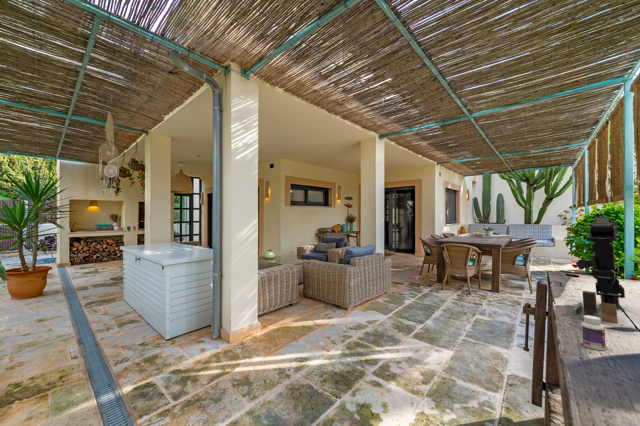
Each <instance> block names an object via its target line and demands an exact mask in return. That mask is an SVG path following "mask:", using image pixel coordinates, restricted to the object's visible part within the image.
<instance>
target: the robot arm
mask: <svg viewBox="0 0 640 426" xmlns="http://www.w3.org/2000/svg"><path fill="white" fill-rule="evenodd" d="M617 225H618V224H617V222H616V221H614V220H612V219H611V216H607V215H606V216H595V217H594V220H593V221H592V222H591V223H590V225H588V240H592V241H593V242H592V246H591V250H592V251H593V255H592V257H591V258H589V259H588V258H587V259H584V258H582V259H578V260H577V261H575V264H576V267H577V268H578V270H579V271H580V270H584V269H589V268H592V270H591V271H590V274H591V276H592V278H594V279H595V280H596V282H595V292H596V296H600V301H601V302H600V304H601V303H609V304H616V308H617V310H620V300H619V299H624V298H626V294H625V293H626V292H625V291H626V290H625V287H624V286H623V285H622V284H620V281H619V279H618V275H619V272H620V271H619V270H620V268H619V266H618V265H616V255H615V245H614V241H617V240H618V239H619V237H620V236H619V228H618V226H617Z"/></svg>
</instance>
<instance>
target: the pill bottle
mask: <svg viewBox="0 0 640 426" xmlns="http://www.w3.org/2000/svg"><path fill="white" fill-rule="evenodd" d="M583 320H584V321H581V323H580V324H581V327H580V328H581V337H582V338H581V339H582V345H583V346H584V347H586V348H589V349H591V350H597V351H605V350H607V346H606V345H607V344H606V334H605V333H606V332H605V331H606V330H605V327H604V325H602V323H601V322H602V318H600V317H595V316H589V315H585V316H583Z"/></svg>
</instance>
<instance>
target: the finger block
mask: <svg viewBox="0 0 640 426" xmlns="http://www.w3.org/2000/svg"><path fill="white" fill-rule="evenodd" d="M600 306H601V312H602V314H601V322H605V323H610V324H611V323H612V324H616V325H617V324H618V323H619V322H618V321H619V319H618V312H617V311H618V309H617V308H616V304H609V303H601V302H600Z"/></svg>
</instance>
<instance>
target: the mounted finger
mask: <svg viewBox="0 0 640 426" xmlns="http://www.w3.org/2000/svg"><path fill="white" fill-rule="evenodd" d="M582 302H583V303H582V304H583V307H584V309H586V310H592V311H596V309H597V308H598V306H597V305H598V304H597V295H596V291H590V290H589V291H588V290H583V291H582Z"/></svg>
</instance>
